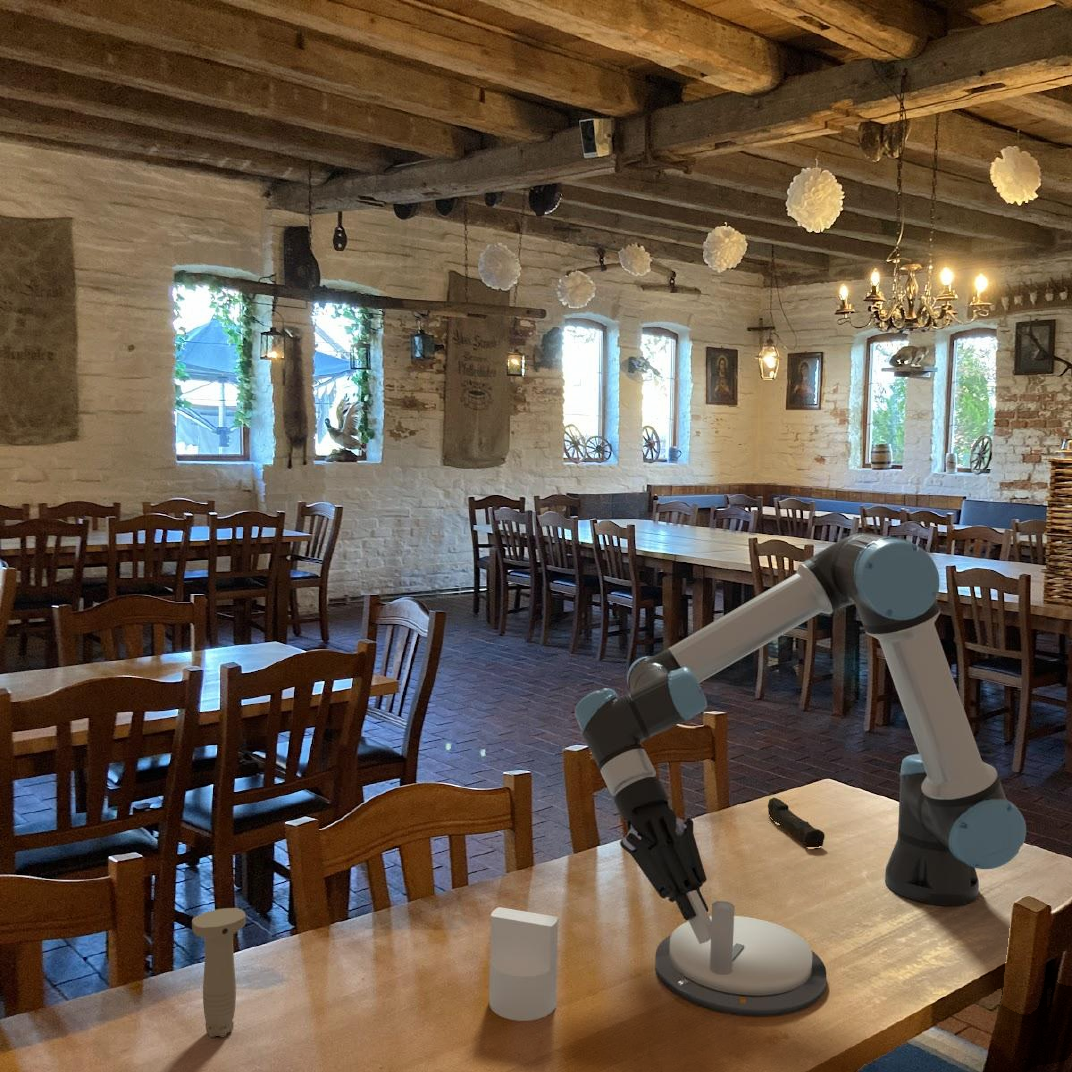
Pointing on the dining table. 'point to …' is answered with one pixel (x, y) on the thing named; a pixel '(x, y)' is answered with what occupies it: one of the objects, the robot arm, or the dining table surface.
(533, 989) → the cylinder with rectangular tab
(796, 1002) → the dial base
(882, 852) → the dining table surface
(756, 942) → the dial
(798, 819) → the hand tool
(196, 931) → the handle
